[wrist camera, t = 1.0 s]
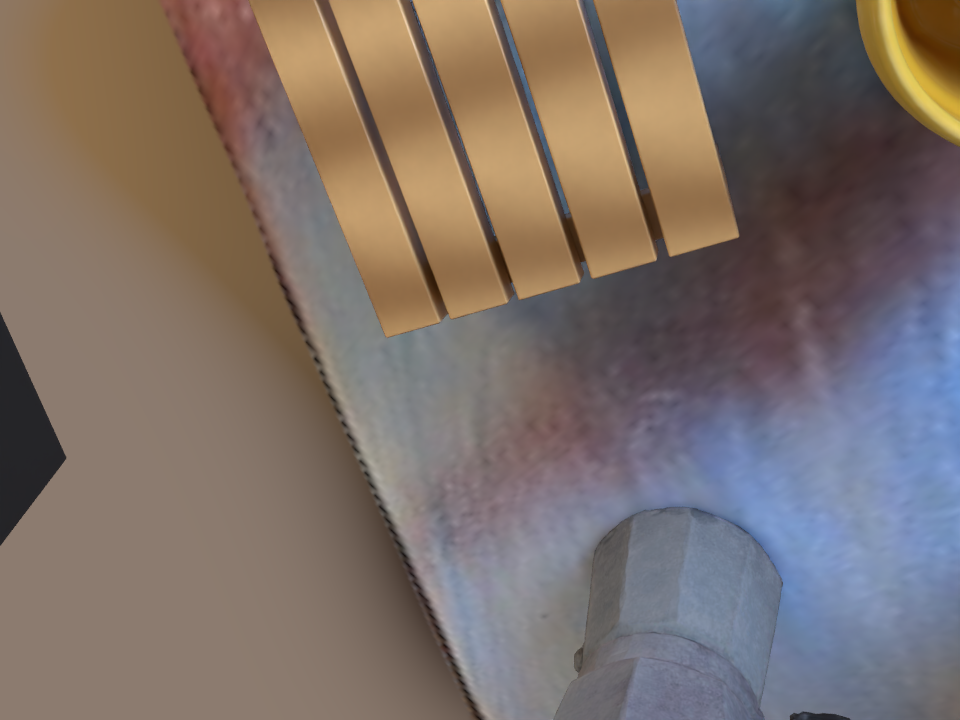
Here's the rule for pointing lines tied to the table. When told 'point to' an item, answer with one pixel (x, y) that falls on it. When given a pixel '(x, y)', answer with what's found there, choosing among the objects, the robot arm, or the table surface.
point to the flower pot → (917, 57)
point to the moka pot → (677, 623)
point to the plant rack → (497, 143)
